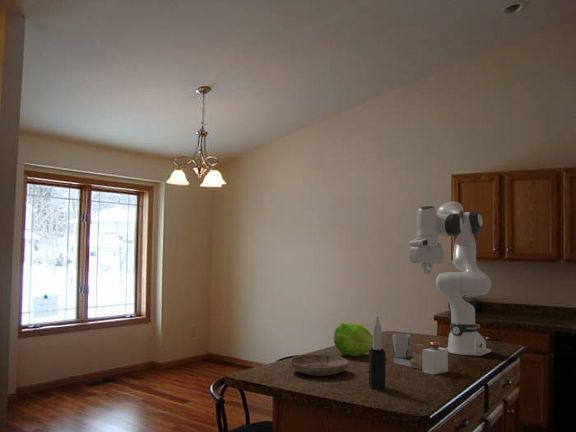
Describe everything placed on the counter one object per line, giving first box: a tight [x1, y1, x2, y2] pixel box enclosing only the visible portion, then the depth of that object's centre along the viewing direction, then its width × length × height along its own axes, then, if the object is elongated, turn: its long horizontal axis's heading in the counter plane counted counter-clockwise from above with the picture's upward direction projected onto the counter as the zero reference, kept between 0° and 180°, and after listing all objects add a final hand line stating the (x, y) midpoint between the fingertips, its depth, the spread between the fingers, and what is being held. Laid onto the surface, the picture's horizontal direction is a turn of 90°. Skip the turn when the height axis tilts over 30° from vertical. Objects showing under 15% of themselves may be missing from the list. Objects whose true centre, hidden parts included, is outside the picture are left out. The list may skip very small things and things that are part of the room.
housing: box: [421, 346, 449, 375], centre depth 210 cm, size 10×5×9 cm, turn 128°
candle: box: [368, 316, 386, 390], centre depth 185 cm, size 5×5×25 cm
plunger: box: [429, 341, 441, 350], centre depth 210 cm, size 4×4×6 cm
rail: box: [392, 357, 420, 370], centre depth 219 cm, size 2×18×2 cm, turn 38°
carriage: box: [410, 343, 426, 370], centre depth 216 cm, size 5×5×9 cm
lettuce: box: [333, 322, 373, 357], centre depth 241 cm, size 17×20×15 cm
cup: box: [392, 333, 411, 359], centre depth 240 cm, size 8×8×10 cm
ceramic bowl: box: [289, 354, 350, 377], centre depth 206 cm, size 23×24×5 cm
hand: (427, 273), depth 227 cm, fingers closed
